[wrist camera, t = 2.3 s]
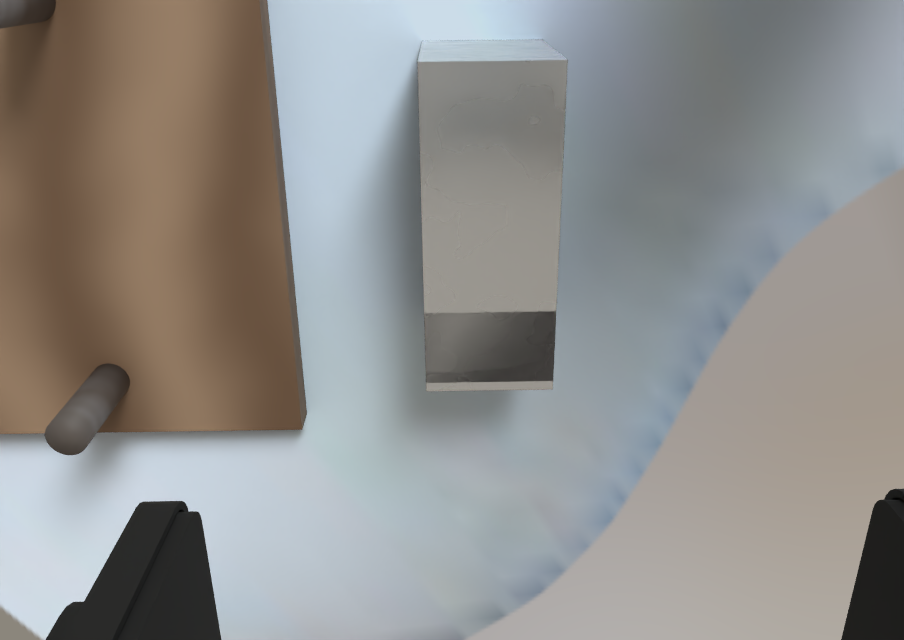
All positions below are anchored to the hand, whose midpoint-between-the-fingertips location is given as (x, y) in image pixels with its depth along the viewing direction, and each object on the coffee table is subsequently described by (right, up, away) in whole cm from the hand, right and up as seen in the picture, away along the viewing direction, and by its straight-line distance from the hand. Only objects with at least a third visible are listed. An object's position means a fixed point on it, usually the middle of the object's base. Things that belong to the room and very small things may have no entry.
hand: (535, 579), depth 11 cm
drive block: (0, +8, +18) cm, 20 cm away
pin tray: (-14, +8, +18) cm, 24 cm away
